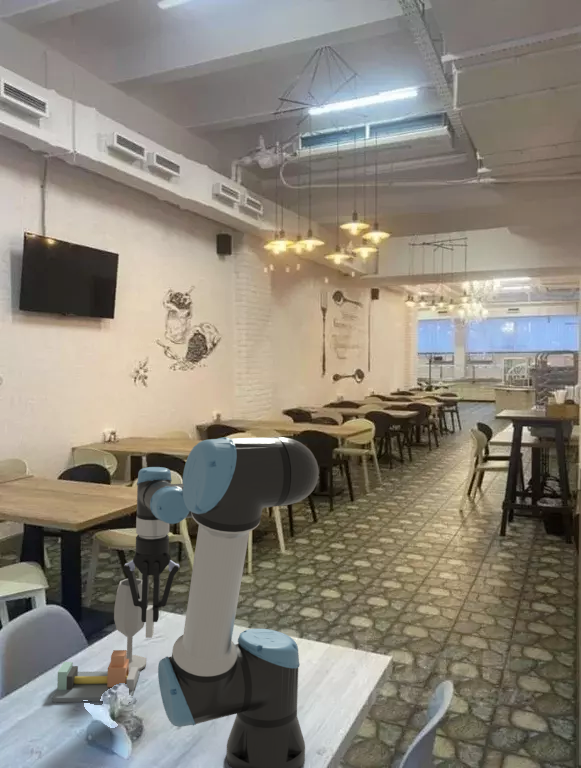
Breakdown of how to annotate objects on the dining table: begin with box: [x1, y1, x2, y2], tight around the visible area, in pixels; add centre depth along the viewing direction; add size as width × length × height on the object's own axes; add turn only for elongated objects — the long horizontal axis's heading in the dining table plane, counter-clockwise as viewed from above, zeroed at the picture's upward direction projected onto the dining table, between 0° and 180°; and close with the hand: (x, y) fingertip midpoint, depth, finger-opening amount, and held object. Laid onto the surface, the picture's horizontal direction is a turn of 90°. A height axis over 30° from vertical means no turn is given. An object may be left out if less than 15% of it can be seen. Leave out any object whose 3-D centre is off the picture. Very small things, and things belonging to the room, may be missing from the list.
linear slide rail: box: [52, 661, 141, 703], centre depth 144 cm, size 12×17×5 cm
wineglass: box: [113, 578, 147, 672], centre depth 155 cm, size 9×9×21 cm
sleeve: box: [107, 649, 129, 687], centre depth 144 cm, size 5×4×7 cm
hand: (149, 635), depth 145 cm, fingers closed
